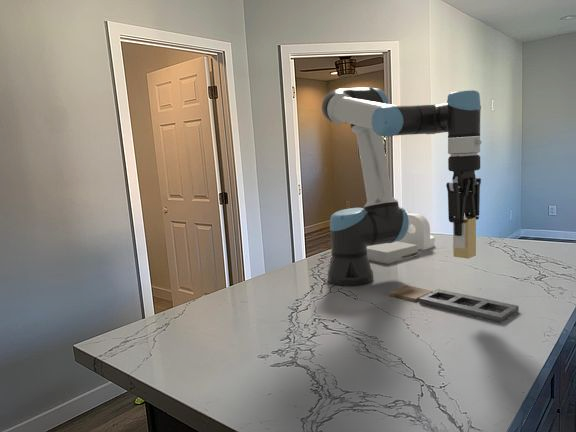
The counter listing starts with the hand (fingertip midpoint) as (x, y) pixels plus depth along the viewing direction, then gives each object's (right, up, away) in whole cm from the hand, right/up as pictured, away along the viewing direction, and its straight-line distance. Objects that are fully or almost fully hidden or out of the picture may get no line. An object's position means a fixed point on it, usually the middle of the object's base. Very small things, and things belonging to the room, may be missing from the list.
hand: (464, 245), depth 114 cm
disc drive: (-8, -9, +64) cm, 65 cm away
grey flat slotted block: (+1, -16, +2) cm, 16 cm away
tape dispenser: (+9, -5, +78) cm, 79 cm away
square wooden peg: (0, -3, 0) cm, 3 cm away
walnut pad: (-10, -15, +15) cm, 23 cm away
